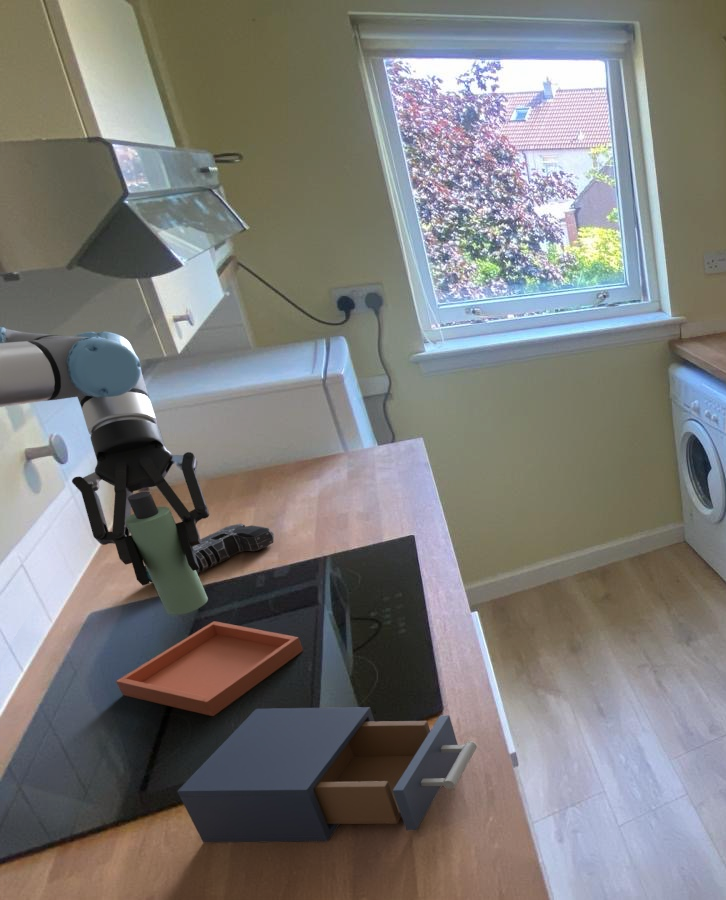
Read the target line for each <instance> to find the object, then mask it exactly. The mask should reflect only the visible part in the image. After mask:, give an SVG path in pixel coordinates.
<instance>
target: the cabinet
mask: <svg viewBox="0 0 726 900" xmlns="http://www.w3.org/2000/svg"><path fill="white" fill-rule="evenodd" d="M363 722H376V721H375V719H374V716H373V713H372V710H371V707H370V706H367V707H366V706H363V707H362V706H361V707H359V706H358V707H357V706H356V707H351V706H350V707H291V708H290V707H287V708H286V707H285V708H282V707H281V708H276V707H275V708H255V709H254V710H253V711H252V712H251V713H250V714H249V715H248V717H247V718H246V719H245V720H244V721H243V722H242V723H241V724H240V725H239V726H238V727H237V728H236V729H235V730H234V731H233V732H232V733H231V734H230V736H228V737H227V739H226V740H225V741H223V742H222V744H221V745H220V746H219V747H218V748H217V749H216V750H215V751H214V752H213V753H212V754H211V755H210V756H209V757H208V758H207V759H206V760H205V761H204V763H202V764H201V766H200V767H199V768H197V770H195V772H194V773H193V774H192V775H190V777H189V778H188V779H187V780H186V781H185V782H184V783H183V785H181V787H180V788H179V789H177V791H176V792H177V794H178V796H179V798H180V800H181V802H182V804H183V805H184V808H185V810H186V811H187V814H188V816H189V818H190V819H191V821H192V823H193V825H194V827H195V829H196V831H197V834H198V835H199V838H200V840H201V842H202V843H291V842H293V843H296V842H297V843H298V842H299V843H303V842H306V843H307V842H308V843H309V842H329V841H330V839H331V837H332V836H333V835H334V833H335V831H336V830H337V828H338V827H339V826H340V824H327V823H326V820H325V818H324V815H323V813H322V810H321V808H320V805H319V803H318V800H317V798H316V796H315V793H314V791H313V789H314V787H315V786H316V785H317V783H318V782H319V781H320V779H321V778H322V777H323V775H324V774H325V773H326V771H327V770H328V769H329V767H330V766H331V765H332V763H333V762H334V761H335V760H336V758H337V757H338V756H339V754H340V753H341V752H342V750H343V749H344V748H345V746H346V745H347V744H348V742H349V741H350V740H351V738H352V737H353V736H354V734H355V733H356V732H357V730H358V729H359V728H360V726H361V725H362V724H363Z"/></svg>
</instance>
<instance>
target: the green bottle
mask: <svg viewBox="0 0 726 900" xmlns="http://www.w3.org/2000/svg"><path fill="white" fill-rule="evenodd" d="M152 495H153V494H151V492H150V491H139V492H137V493H133V495H131V496H129V497H128V501H129V503H130V505H131V511H132V512H133V513H131V515H130V516H129V517H127V518H126V520H125V523H126V525H127V527H128V529H129V531H130V535H131V536H132V538H133V540H134V542H135V544H136V547H137V549H138V551H139V553H140V555H141V557H142V560H143V563H144V566H146V568H147V571H148V573H149V575H150V577H151V579H152V581H153V582H152V583H153V586H154V588H155V590H156V592H157V595H158V597H159V599H160V601H161V603H162V605H163V607H164V610H165V612H166V614H167V615H170V616H180V615H185V614H189V613H191V612H194V611H196V610H199V609H200V608H202V607H204V606H205V604H207V603H208V601H209V598H208V595H207V592H206V591H205V588H204V586H203V584H202V582H201V579H200V577H199V573H198V574H197V572H196V570H194V571H193V570H192V569H191V567H190V566H189V564H188V561H187V558H186V555H185V552H184V549H183V546H182V542H181V539H180V536H179V533H178V530H177V527H176V523H177V522H176V520H175V518H174V516H173V513H172V511H171V508H170V507H168V506H157V504H156V503H155V500H154V498H153V496H152Z"/></svg>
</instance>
